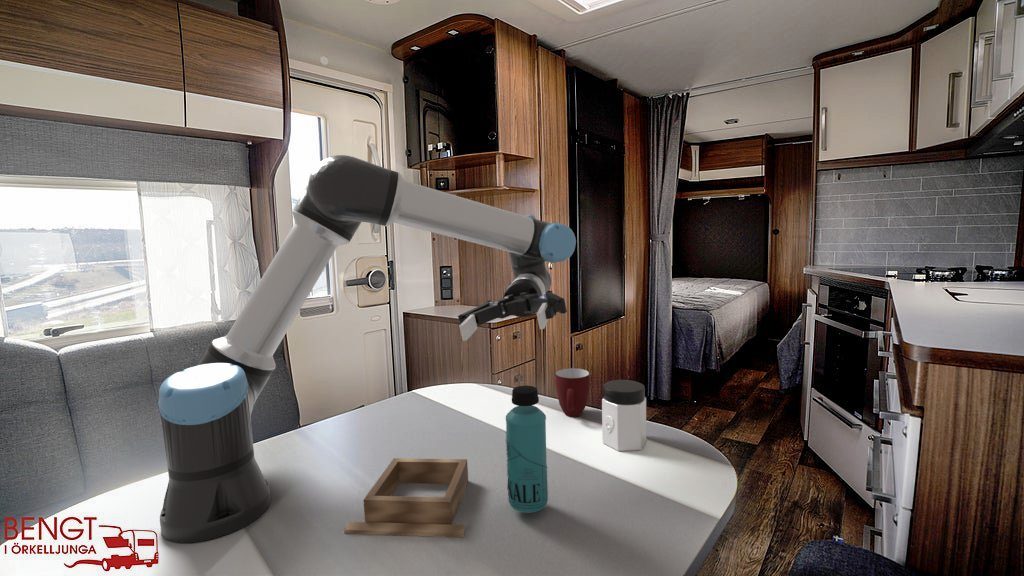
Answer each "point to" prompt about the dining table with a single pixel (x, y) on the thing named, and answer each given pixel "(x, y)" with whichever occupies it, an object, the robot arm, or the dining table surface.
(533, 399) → the beverage bottle
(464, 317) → the robot arm
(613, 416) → the jar
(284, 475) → the dining table surface
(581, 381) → the mug
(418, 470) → the square wooden frame
